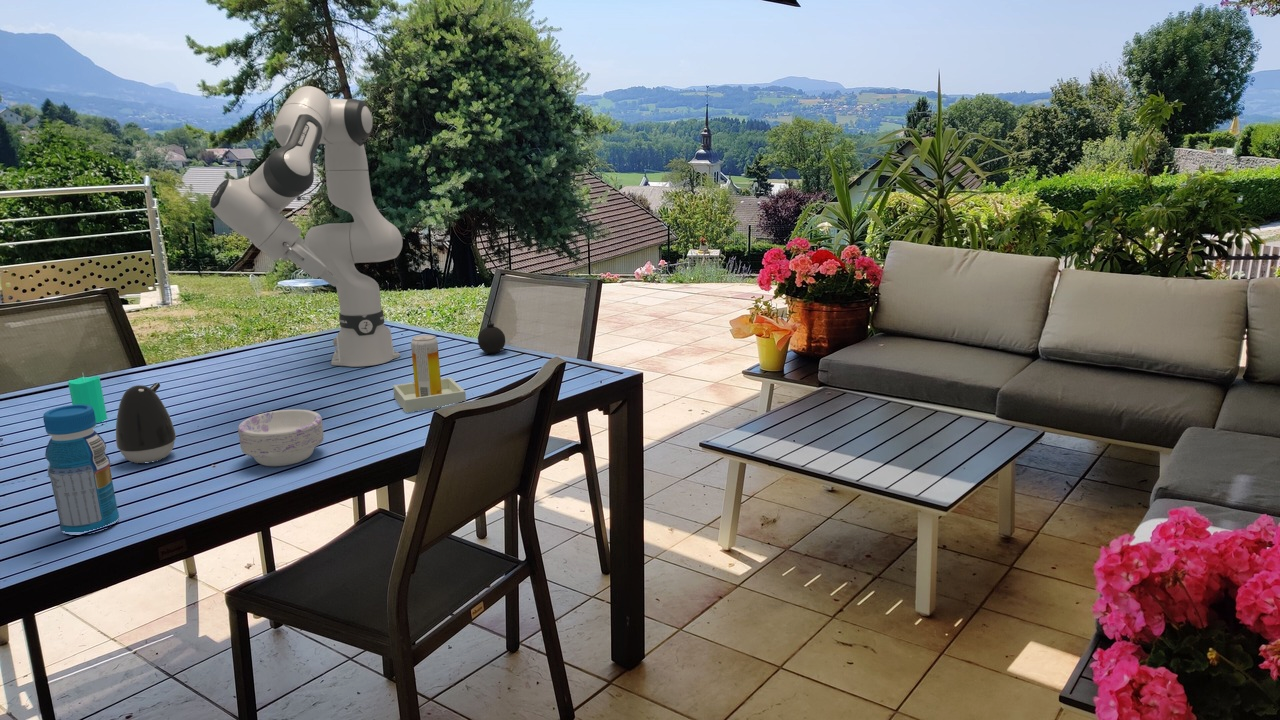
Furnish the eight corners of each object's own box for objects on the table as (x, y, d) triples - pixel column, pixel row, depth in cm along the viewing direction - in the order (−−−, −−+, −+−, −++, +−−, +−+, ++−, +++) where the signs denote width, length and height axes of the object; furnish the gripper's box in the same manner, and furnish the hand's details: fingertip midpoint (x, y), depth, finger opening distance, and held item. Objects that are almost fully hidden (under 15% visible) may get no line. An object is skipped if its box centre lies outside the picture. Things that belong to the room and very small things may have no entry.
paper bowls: (323, 466, 163) (319, 427, 161) (237, 477, 159) (231, 437, 157) (328, 441, 177) (323, 404, 176) (249, 450, 173) (243, 412, 171)
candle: (114, 421, 194) (105, 370, 191) (90, 429, 188) (80, 377, 185) (94, 419, 195) (85, 368, 192) (70, 427, 190) (60, 375, 187)
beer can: (444, 394, 206) (439, 334, 203) (439, 401, 201) (434, 339, 197) (418, 395, 206) (413, 334, 202) (413, 402, 200) (407, 340, 197)
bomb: (509, 350, 251) (507, 310, 248) (500, 357, 244) (498, 315, 241) (484, 349, 253) (481, 310, 250) (474, 356, 245) (471, 315, 242)
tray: (394, 397, 207) (393, 385, 206) (451, 389, 213) (450, 377, 212) (406, 413, 195) (404, 400, 194) (466, 404, 201) (465, 391, 200)
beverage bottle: (69, 543, 134) (44, 422, 129) (53, 528, 139) (28, 411, 134) (128, 524, 140) (107, 408, 135) (110, 511, 145) (89, 399, 140)
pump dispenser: (191, 451, 173) (179, 379, 169) (152, 470, 163) (138, 394, 160) (148, 448, 175) (136, 377, 172) (107, 466, 166) (93, 392, 162)
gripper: (296, 234, 178) (349, 276, 185) (287, 225, 196) (336, 264, 203) (275, 257, 177) (330, 299, 184) (269, 246, 195) (319, 284, 202)
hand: (333, 280), depth 193 cm, fingers open, 8 cm apart
